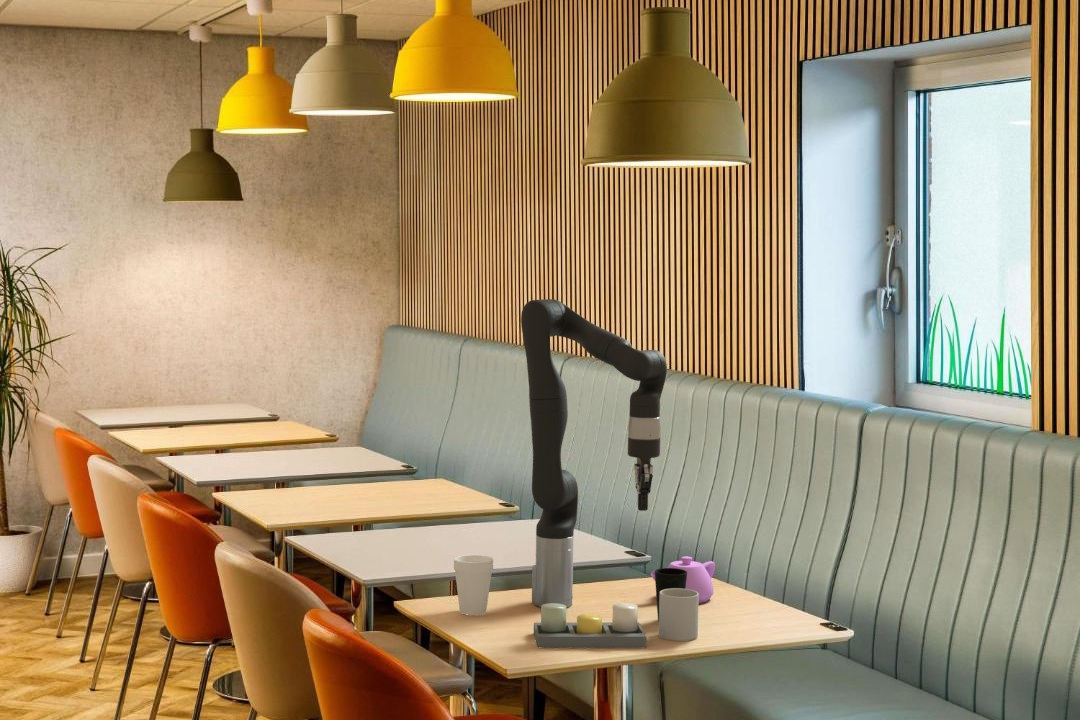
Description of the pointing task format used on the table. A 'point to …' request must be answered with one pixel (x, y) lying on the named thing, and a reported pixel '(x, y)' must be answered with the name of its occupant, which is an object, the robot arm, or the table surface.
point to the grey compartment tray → (589, 638)
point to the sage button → (553, 617)
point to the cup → (669, 580)
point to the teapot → (696, 576)
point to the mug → (678, 614)
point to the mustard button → (589, 624)
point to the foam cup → (473, 582)
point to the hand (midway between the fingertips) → (642, 509)
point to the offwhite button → (625, 617)
